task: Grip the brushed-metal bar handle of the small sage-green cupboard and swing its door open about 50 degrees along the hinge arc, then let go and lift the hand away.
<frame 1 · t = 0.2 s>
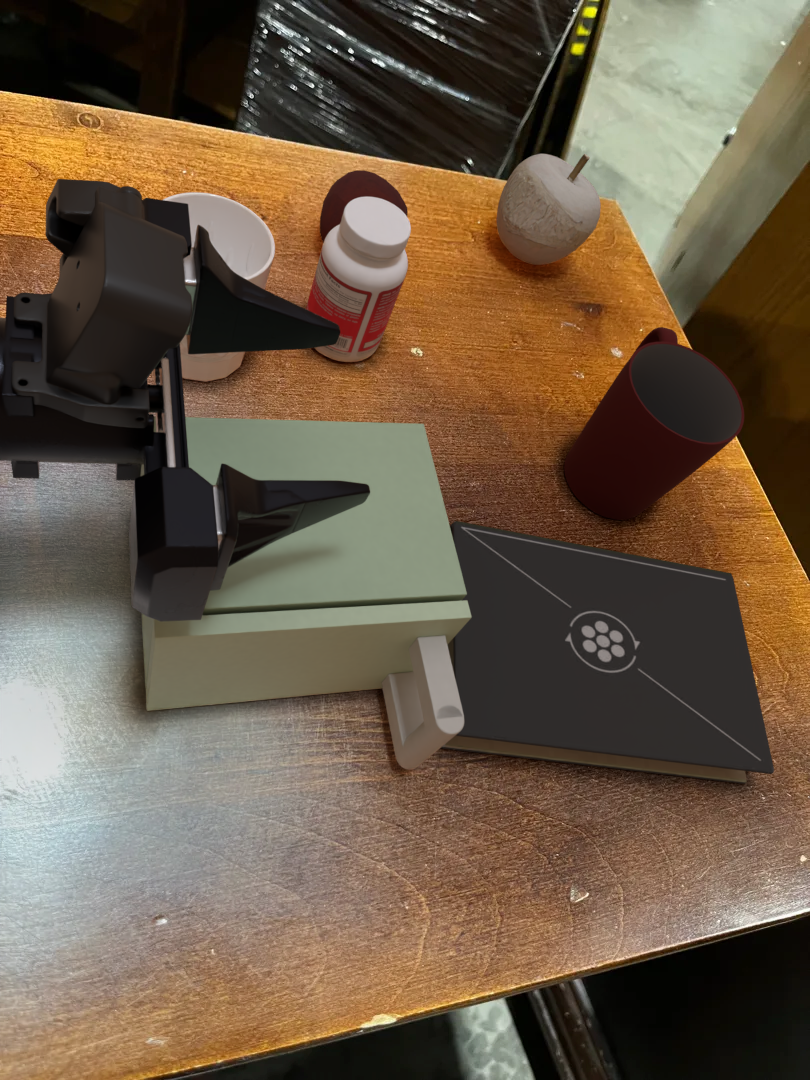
hand: (352, 410, 38), 16 cm above the table, tool horizontal, fingers open, 9 cm apart
pill bottle: (339, 336, 63), on the table
cupboard: (272, 594, 50), on the table
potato: (354, 249, 69), on the table
book: (587, 659, 55), on the table
door: (309, 704, 42), point 5 cm above the table, hinge at 0.0°
decorative object: (524, 253, 76), on the table
mug: (602, 466, 65), on the table
white cup: (197, 348, 58), on the table
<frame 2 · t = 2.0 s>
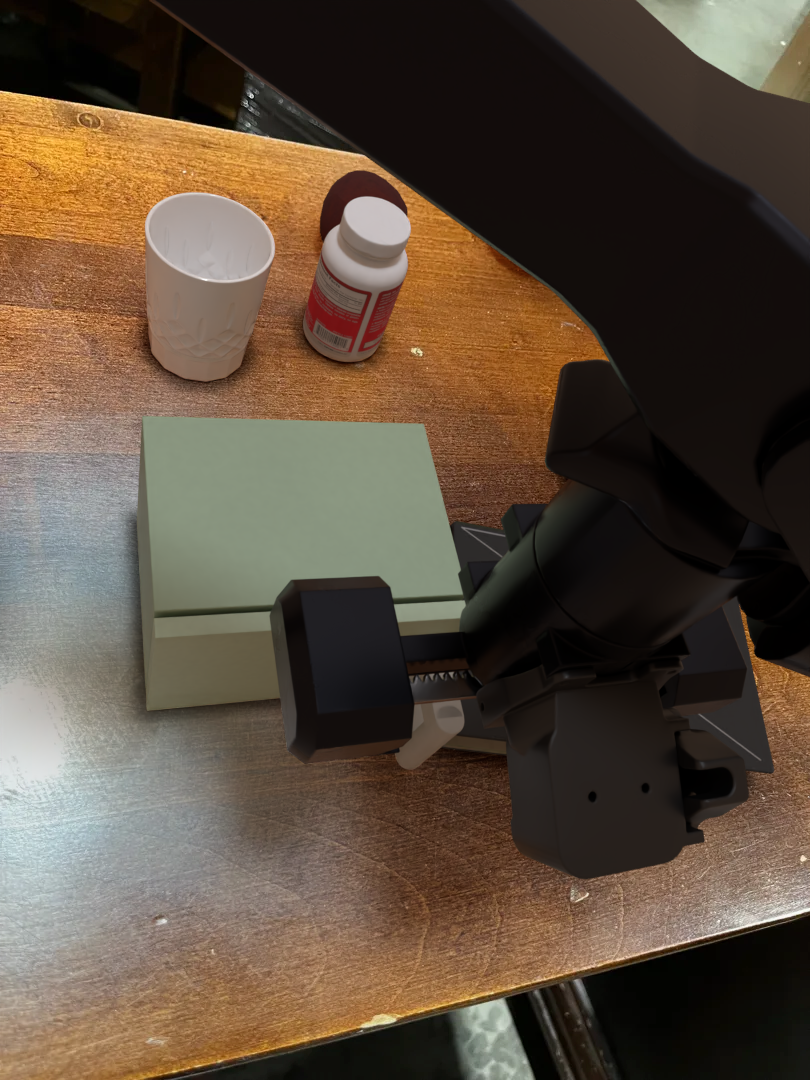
hand: (446, 716, 38), 11 cm above the table, tool pointing down, fingers open, 9 cm apart
nothing on the table moved.
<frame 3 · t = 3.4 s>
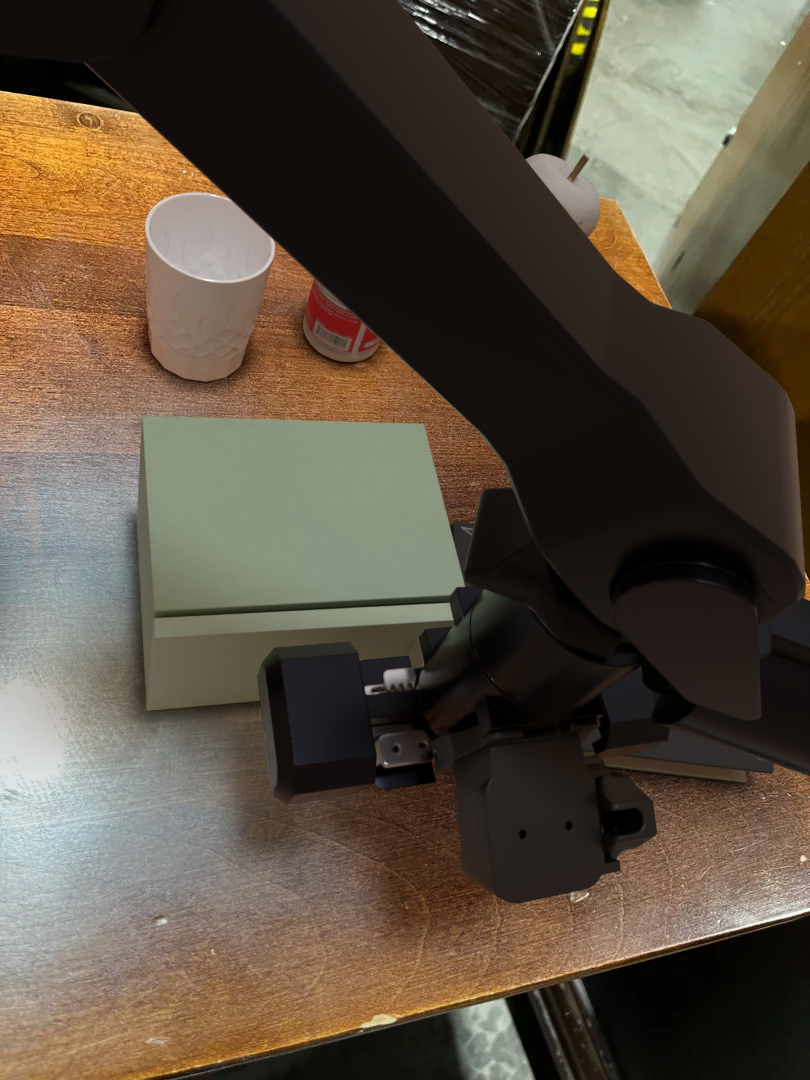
hand: (418, 752, 43), 4 cm above the table, tool pointing down, fingers open, 3 cm apart
door: (309, 705, 42), point 5 cm above the table, hinge at 0.3°, touching gripper
everything else where it was.
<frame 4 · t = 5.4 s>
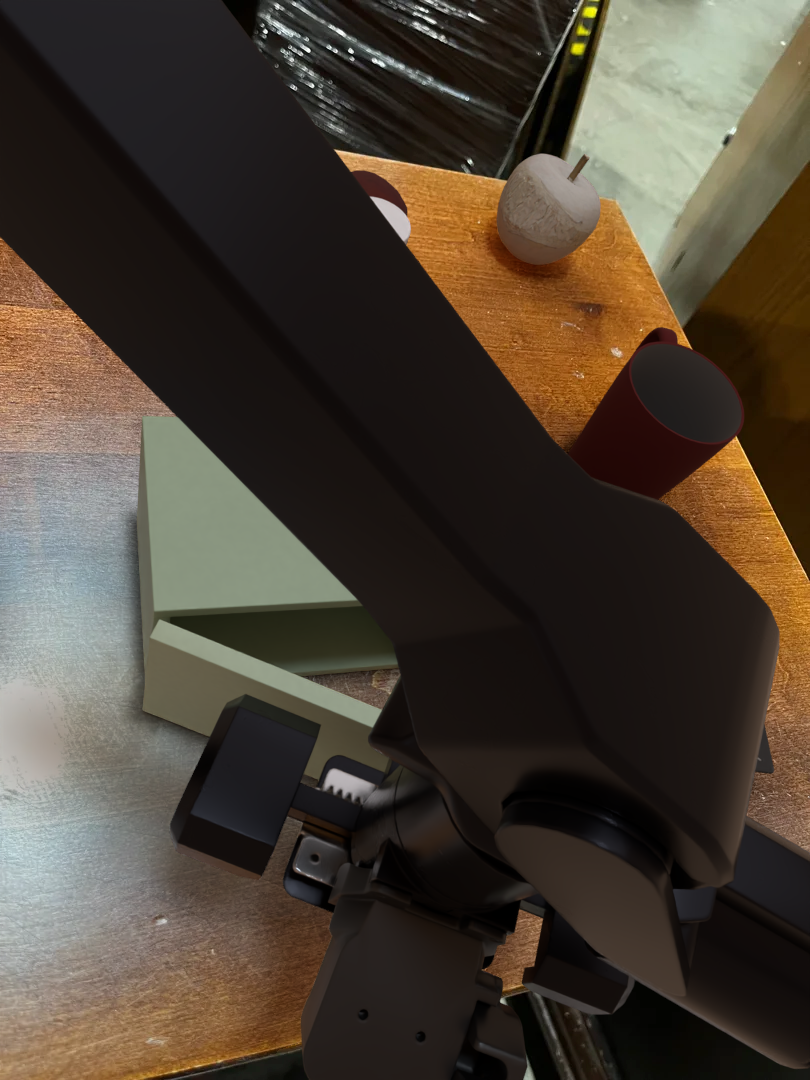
hand: (368, 882, 39), 5 cm above the table, tool pointing down, fingers closed
door: (275, 776, 40), point 5 cm above the table, hinge at 28.5°, touching gripper
everything else where it was.
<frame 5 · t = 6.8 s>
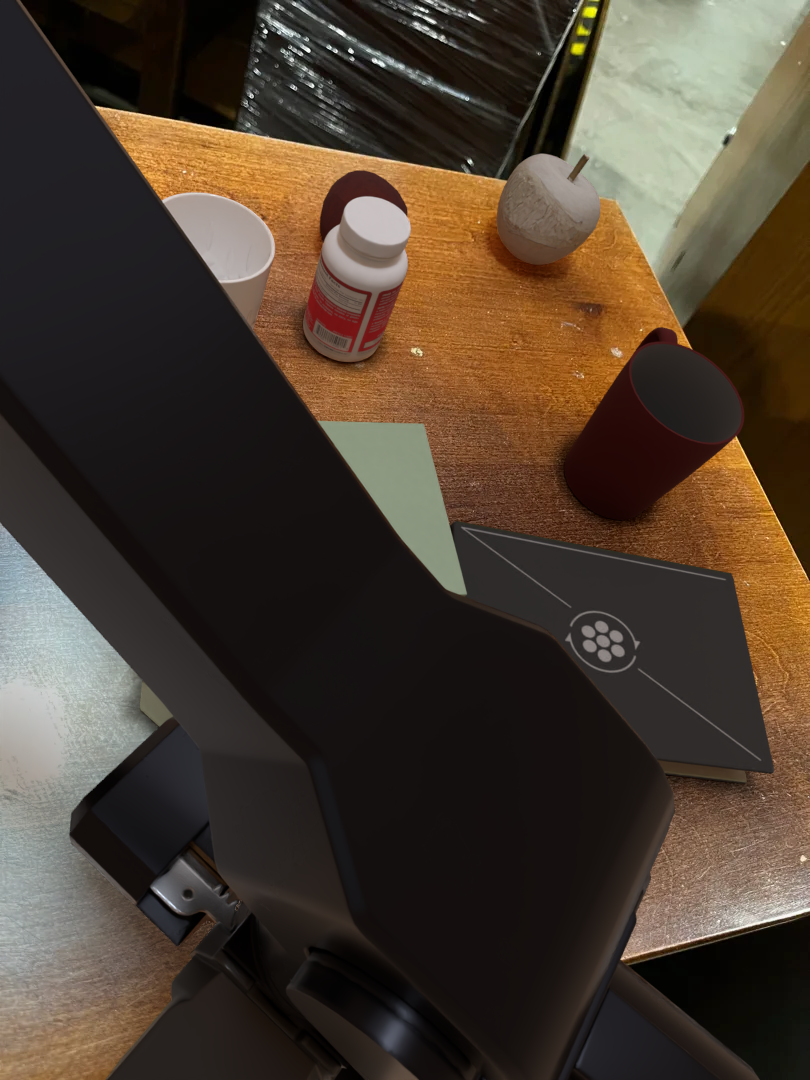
hand: (270, 954, 36), 4 cm above the table, tool pointing down, fingers open, 5 cm apart
door: (228, 815, 38), point 5 cm above the table, hinge at 48.7°
everything else where it was.
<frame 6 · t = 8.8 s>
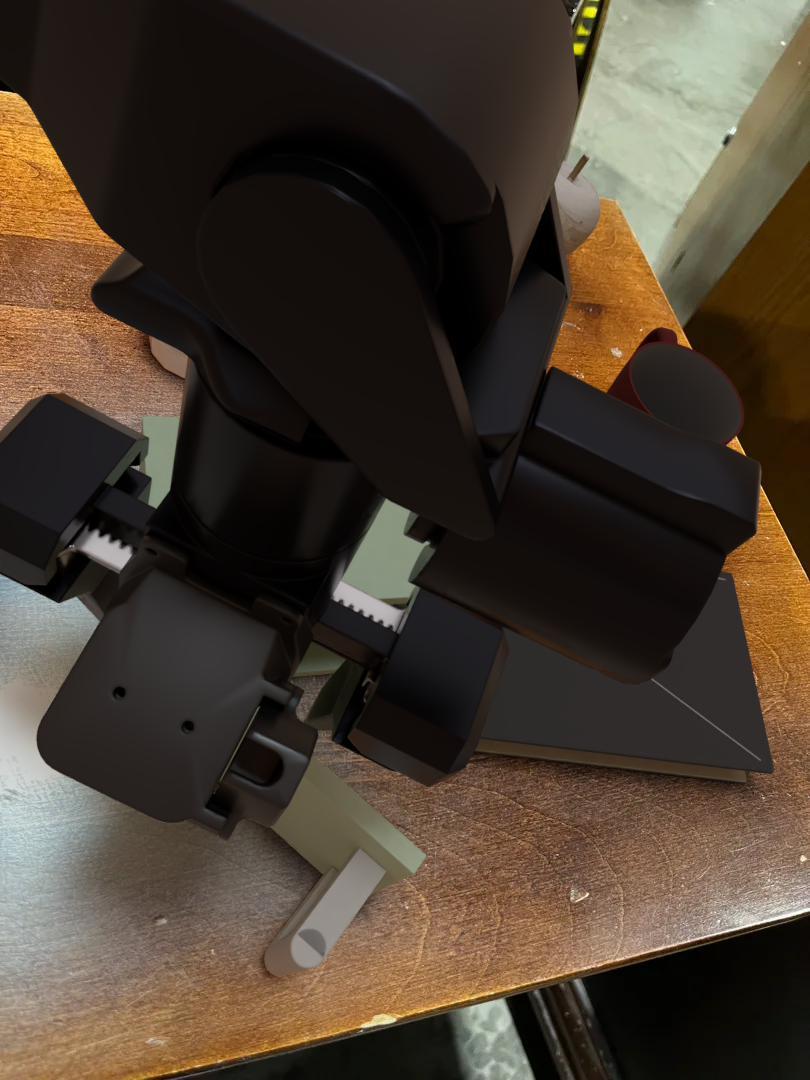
hand: (214, 670, 35), 12 cm above the table, tool pointing down, fingers open, 9 cm apart
nothing on the table moved.
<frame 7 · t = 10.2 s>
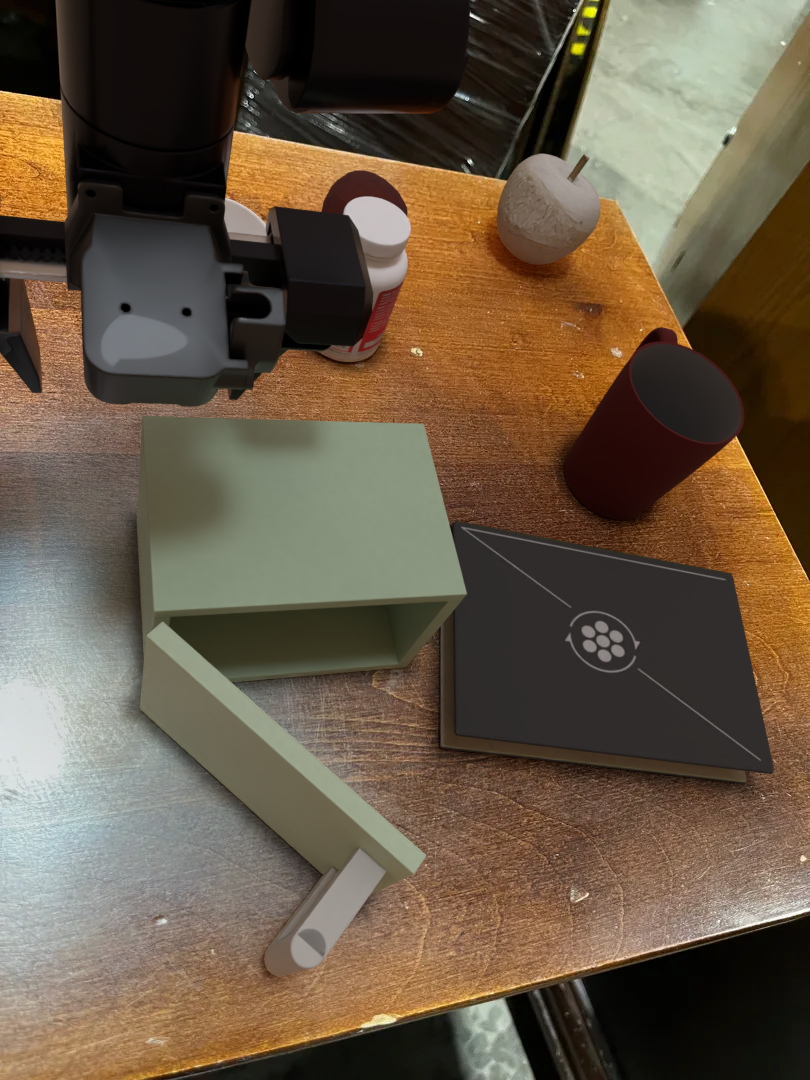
hand: (138, 389, 40), 12 cm above the table, tool pointing down, fingers open, 9 cm apart
nothing on the table moved.
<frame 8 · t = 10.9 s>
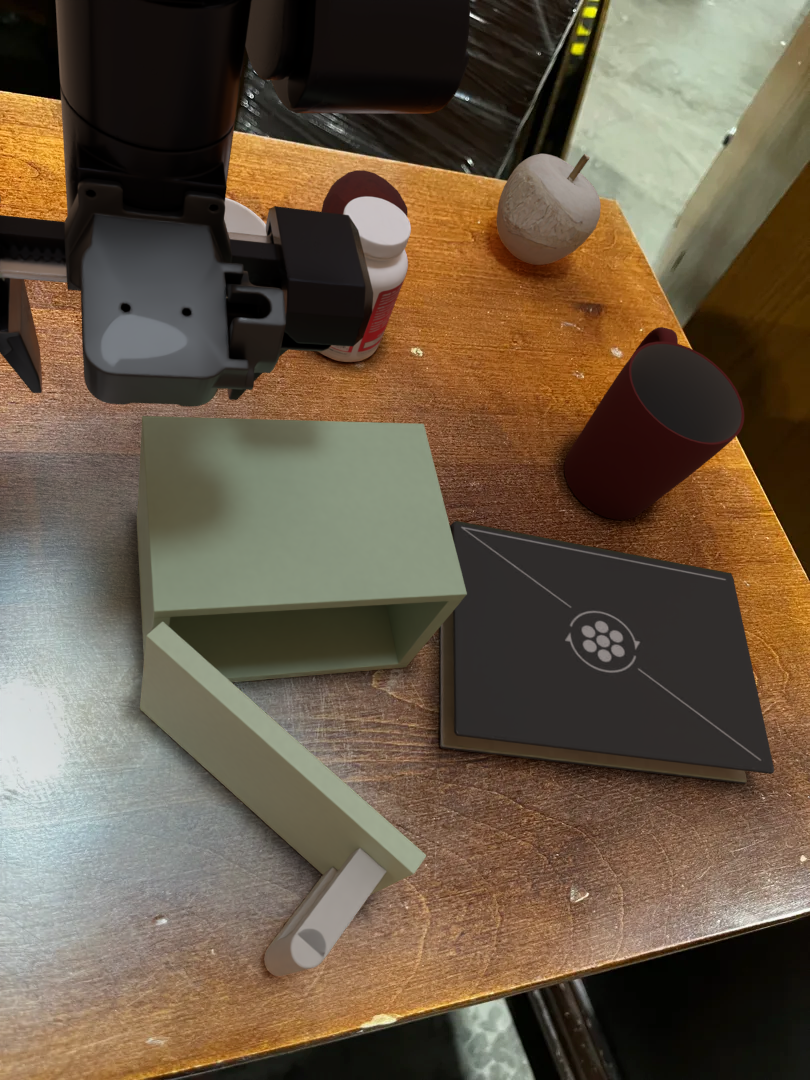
hand: (138, 389, 40), 12 cm above the table, tool pointing down, fingers open, 9 cm apart
nothing on the table moved.
at the end: door at +49° (first picture: +0°); decorative object moved 0.2 cm from its start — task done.
